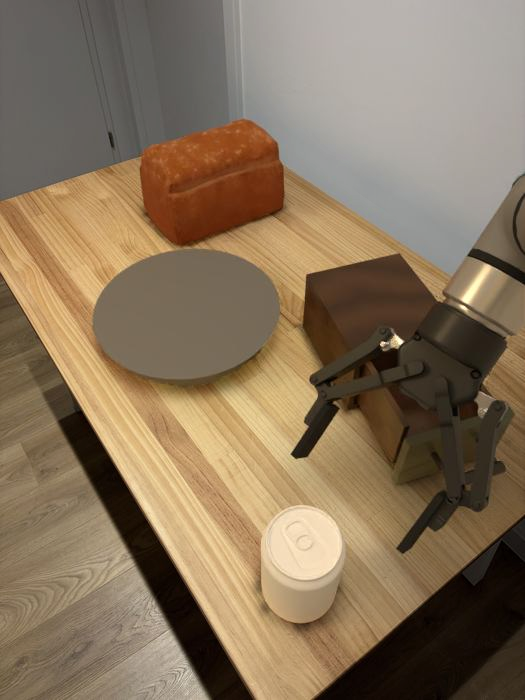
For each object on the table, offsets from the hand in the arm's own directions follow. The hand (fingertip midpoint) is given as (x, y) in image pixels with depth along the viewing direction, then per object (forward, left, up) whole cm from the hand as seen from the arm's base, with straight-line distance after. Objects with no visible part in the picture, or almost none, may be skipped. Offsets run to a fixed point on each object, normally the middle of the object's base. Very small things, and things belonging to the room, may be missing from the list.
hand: (347, 499), depth 55 cm
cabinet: (+25, -16, -11) cm, 32 cm away
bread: (+69, -4, -11) cm, 70 cm away
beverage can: (-3, +6, -11) cm, 13 cm away
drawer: (+10, -16, -10) cm, 21 cm away
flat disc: (+39, +8, -11) cm, 42 cm away
